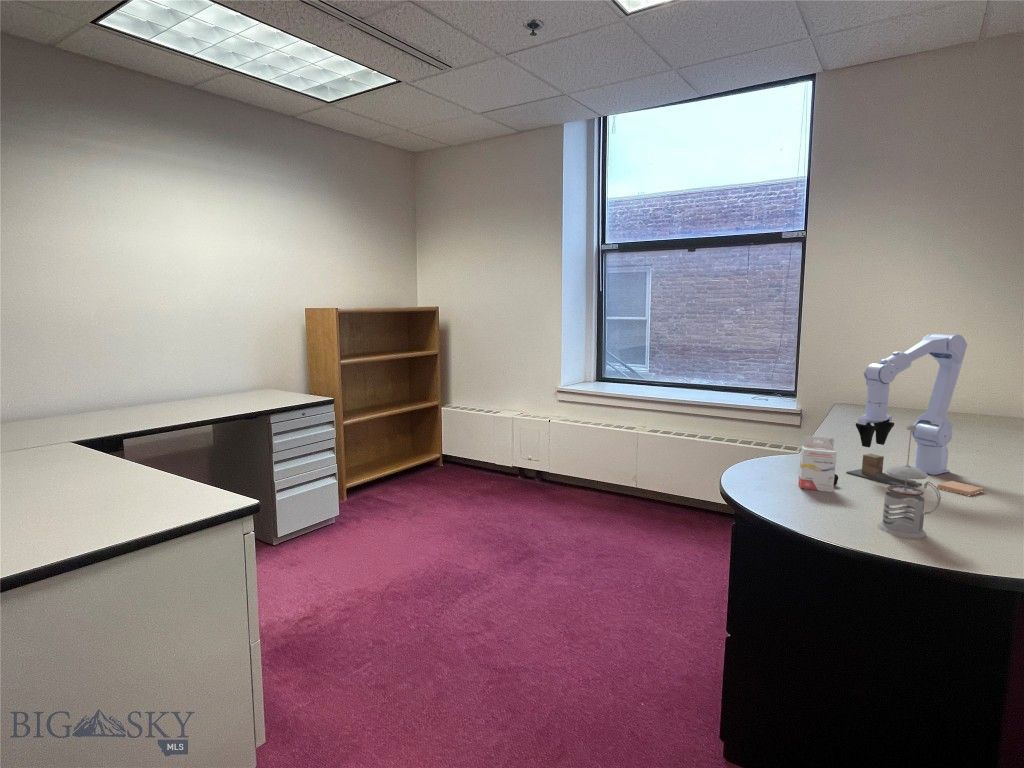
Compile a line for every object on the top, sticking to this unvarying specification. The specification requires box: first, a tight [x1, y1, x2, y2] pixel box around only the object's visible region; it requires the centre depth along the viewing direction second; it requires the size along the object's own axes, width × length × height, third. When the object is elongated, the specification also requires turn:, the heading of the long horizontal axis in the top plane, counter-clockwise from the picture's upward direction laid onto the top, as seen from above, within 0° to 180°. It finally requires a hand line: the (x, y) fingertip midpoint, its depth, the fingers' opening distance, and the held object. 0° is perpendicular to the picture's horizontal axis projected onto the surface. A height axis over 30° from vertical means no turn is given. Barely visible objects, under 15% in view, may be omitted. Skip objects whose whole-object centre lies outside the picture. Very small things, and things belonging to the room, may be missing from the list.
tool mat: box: [845, 468, 923, 488], centre depth 181 cm, size 8×18×1 cm, turn 28°
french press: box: [876, 424, 942, 539], centre depth 136 cm, size 10×12×25 cm
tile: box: [936, 480, 984, 496], centre depth 171 cm, size 8×2×8 cm
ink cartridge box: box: [797, 435, 837, 493], centre depth 170 cm, size 9×5×15 cm, turn 71°
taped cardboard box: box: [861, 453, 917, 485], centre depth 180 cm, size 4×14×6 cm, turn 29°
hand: (873, 445), depth 185 cm, fingers open, 7 cm apart
